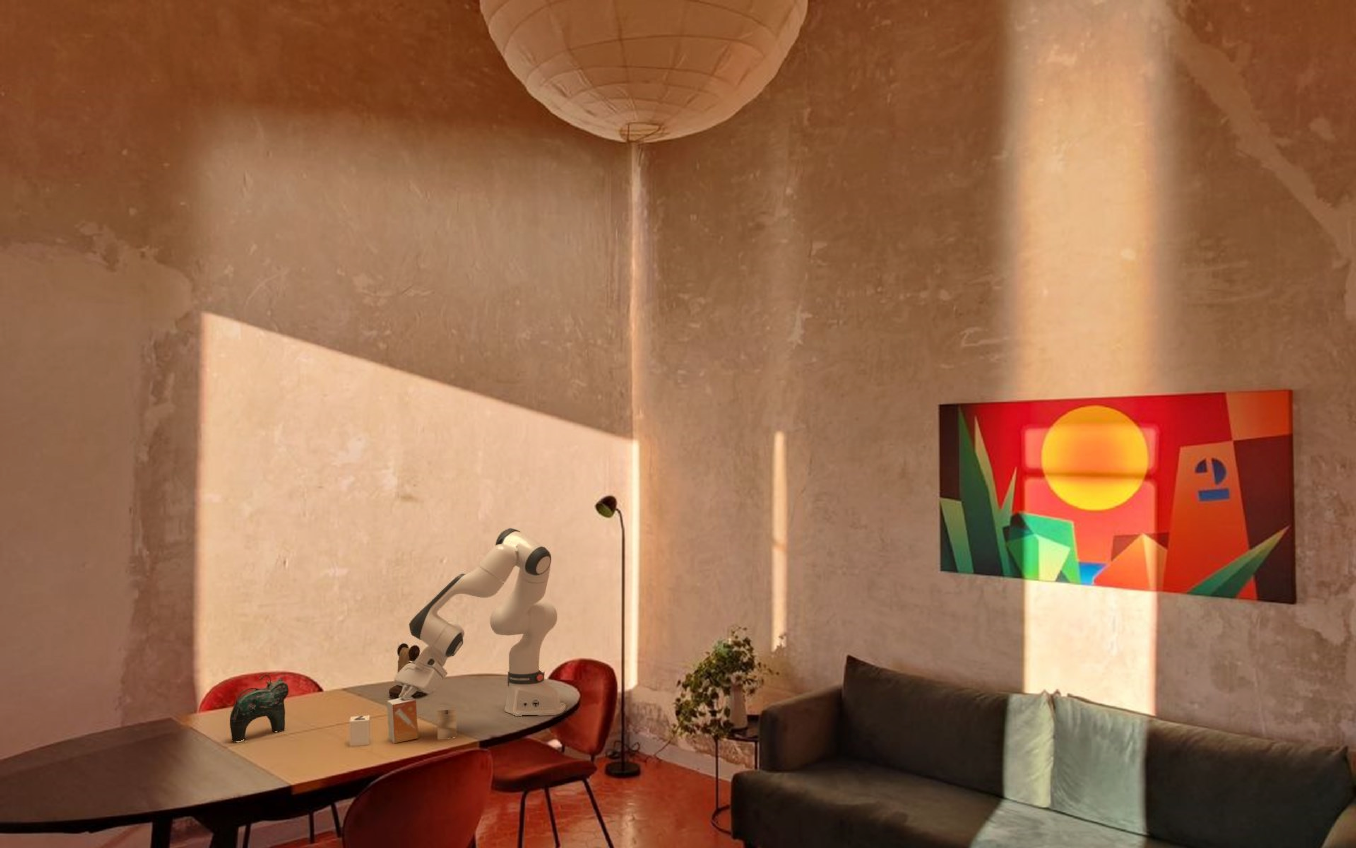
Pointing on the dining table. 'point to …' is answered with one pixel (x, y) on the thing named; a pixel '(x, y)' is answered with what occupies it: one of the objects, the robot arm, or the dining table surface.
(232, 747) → the dining table surface
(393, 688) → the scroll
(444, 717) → the beech block
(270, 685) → the bronze animal figurine
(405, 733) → the small box
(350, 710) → the dining table surface
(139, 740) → the dining table surface
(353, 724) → the off-white block
